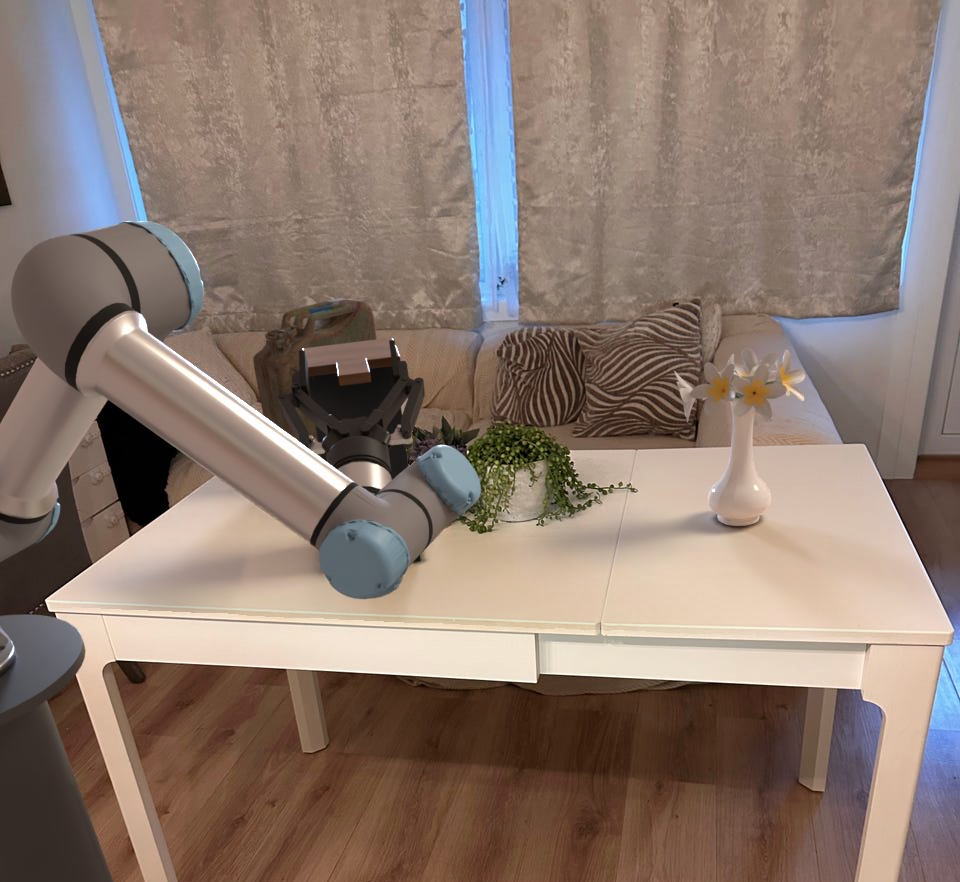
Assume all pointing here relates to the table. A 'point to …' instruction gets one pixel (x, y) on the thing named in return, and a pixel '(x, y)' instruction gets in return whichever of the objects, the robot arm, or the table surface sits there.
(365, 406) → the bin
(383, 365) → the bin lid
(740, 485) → the flower vase
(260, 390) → the container
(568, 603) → the table surface
